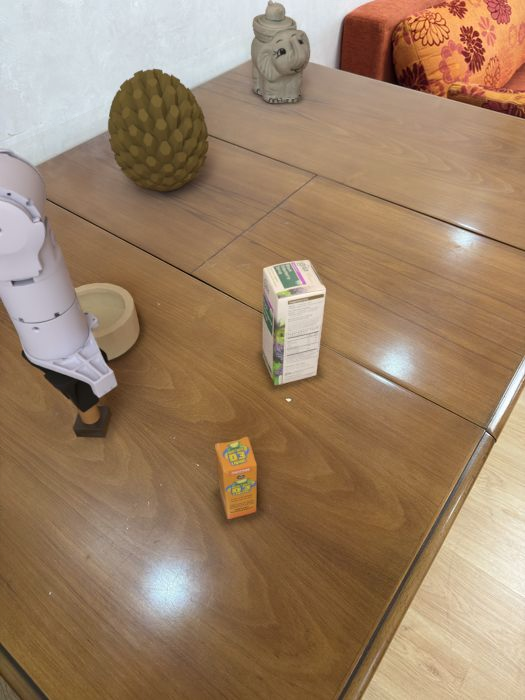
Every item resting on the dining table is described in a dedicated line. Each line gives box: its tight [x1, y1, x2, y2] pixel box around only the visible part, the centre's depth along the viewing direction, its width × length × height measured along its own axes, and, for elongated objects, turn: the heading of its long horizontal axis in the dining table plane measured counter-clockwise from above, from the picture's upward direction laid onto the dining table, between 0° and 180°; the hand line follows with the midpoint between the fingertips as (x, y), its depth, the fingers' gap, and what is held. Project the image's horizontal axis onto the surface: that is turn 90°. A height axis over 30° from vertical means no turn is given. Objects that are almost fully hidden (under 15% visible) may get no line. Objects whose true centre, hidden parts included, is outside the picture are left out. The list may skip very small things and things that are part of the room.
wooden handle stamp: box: [72, 403, 113, 439], centre depth 56 cm, size 3×3×9 cm
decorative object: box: [107, 68, 209, 193], centre depth 92 cm, size 17×17×20 cm
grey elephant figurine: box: [250, 0, 311, 104], centre depth 120 cm, size 16×15×19 cm
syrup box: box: [261, 259, 327, 386], centre depth 63 cm, size 6×6×14 cm
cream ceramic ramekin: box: [74, 282, 140, 361], centre depth 71 cm, size 11×11×4 cm
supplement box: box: [214, 436, 258, 520], centre depth 52 cm, size 3×3×10 cm
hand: (82, 398), depth 56 cm, fingers closed on wooden handle stamp, 2 cm apart
